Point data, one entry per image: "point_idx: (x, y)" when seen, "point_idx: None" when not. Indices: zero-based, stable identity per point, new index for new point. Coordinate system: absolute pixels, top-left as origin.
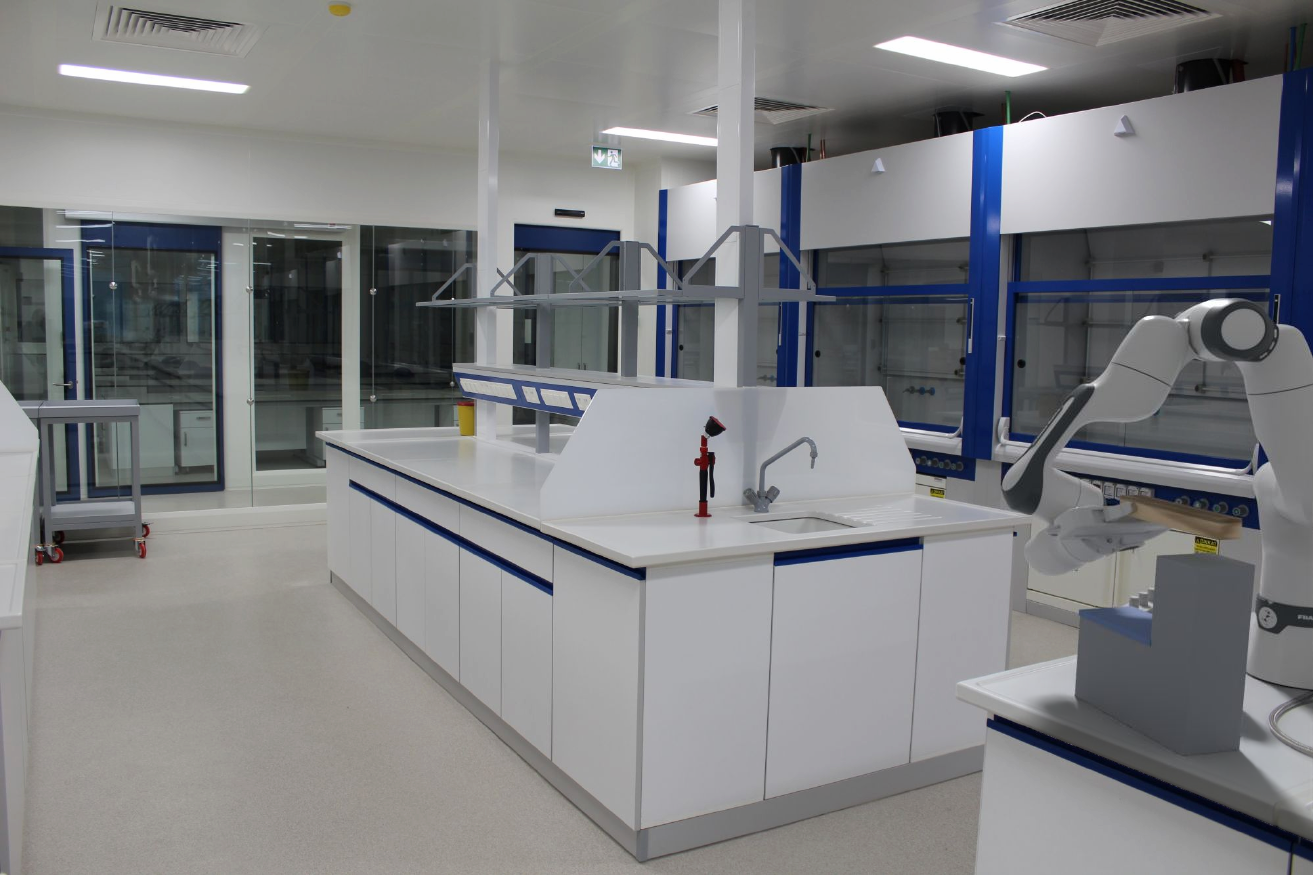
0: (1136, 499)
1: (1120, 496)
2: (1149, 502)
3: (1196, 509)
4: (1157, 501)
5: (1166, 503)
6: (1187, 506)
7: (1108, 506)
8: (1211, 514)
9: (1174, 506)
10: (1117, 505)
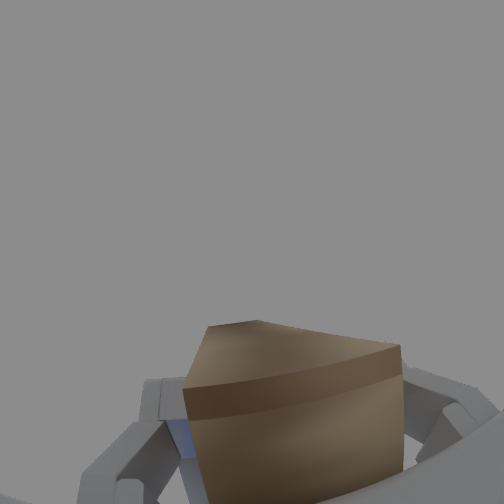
0: (332, 336)
1: (400, 353)
2: (305, 330)
3: (225, 330)
4: (256, 339)
5: (248, 336)
6: (215, 335)
7: (479, 428)
8: (235, 325)
9: (257, 329)
10: (423, 372)
